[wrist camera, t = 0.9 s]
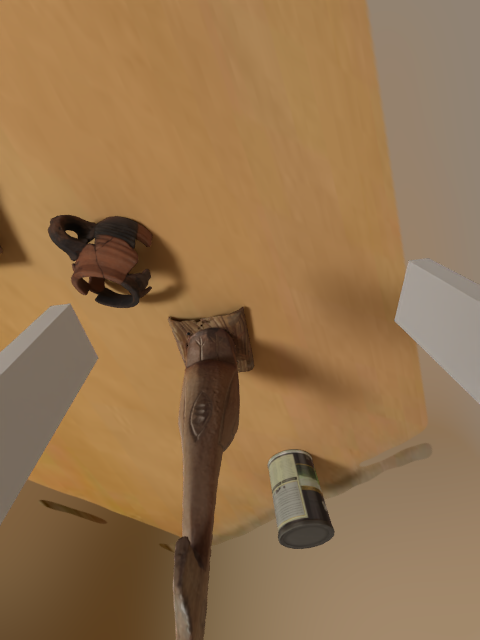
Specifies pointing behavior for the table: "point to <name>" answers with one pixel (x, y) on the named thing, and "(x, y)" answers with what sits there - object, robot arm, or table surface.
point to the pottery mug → (104, 256)
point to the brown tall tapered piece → (204, 449)
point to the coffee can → (298, 501)
